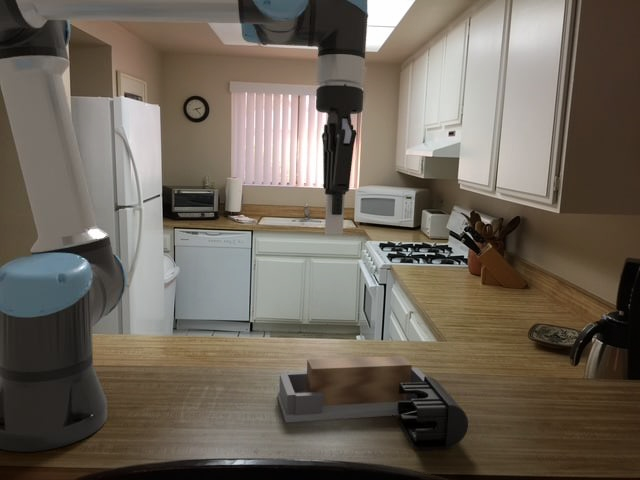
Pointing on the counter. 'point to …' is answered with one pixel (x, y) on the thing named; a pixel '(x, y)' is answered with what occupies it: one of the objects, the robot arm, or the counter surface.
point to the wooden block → (358, 379)
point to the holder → (310, 405)
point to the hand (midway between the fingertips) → (333, 233)
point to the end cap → (431, 416)
